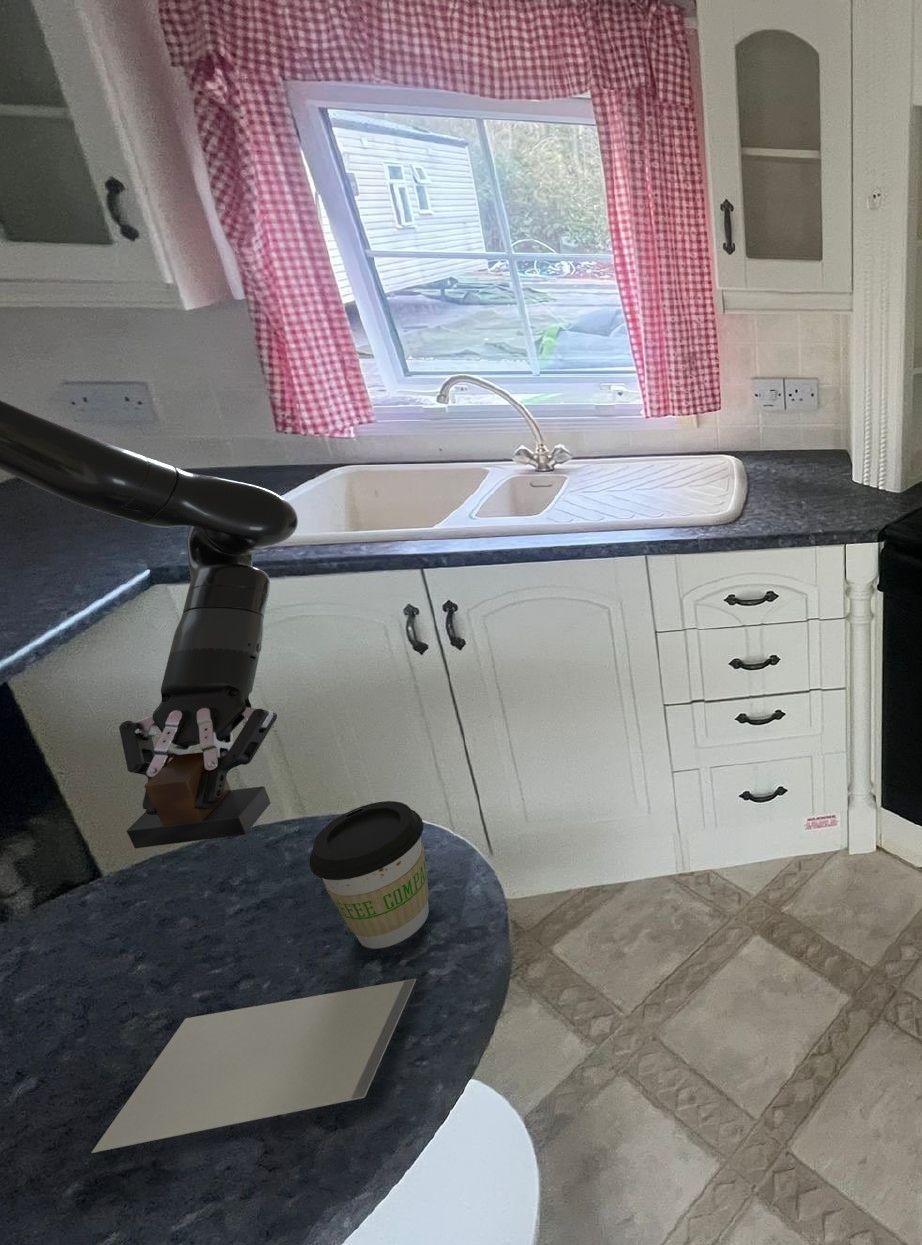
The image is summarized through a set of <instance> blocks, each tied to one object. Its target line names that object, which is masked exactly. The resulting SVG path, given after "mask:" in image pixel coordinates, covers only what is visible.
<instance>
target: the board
mask: <svg viewBox="0 0 922 1245" xmlns="http://www.w3.org/2000/svg"><path fill="white" fill-rule="evenodd" d="M416 981H417V978H411V979H405V980H399V981H394V982H388V983H387V982H386V983H382V984H377V985H370V986H363V987H359V988H353V989H352V988H351V989H348V990H342V991H336V992H330V993H323V994H319V995H318V994H317V995H312V996H307V997H306V996H305V997H302V998H295V999H290V1000H284V1001H278V1002H273V1003H266V1004H261V1005H254V1006H249V1007H243V1008H237V1009H233V1010H232V1009H231V1010H226V1011H220V1012H214V1013H208V1014H203V1015H198V1016H197V1015H196V1016H192V1017H186V1018H184V1020H183V1021H182V1023H181V1024H180V1025H179V1027H178V1028H177V1030H176V1031H175V1033H174V1034H173V1036H172V1037H171V1039H169V1041H168V1043H167V1044H166V1045H165V1047H164V1048H163V1050H162V1051H161V1053H160V1054H159V1056H158V1057H157V1058H156V1060H155V1061H154V1063H153V1064H152V1066H151V1067H150V1068H149V1070H147V1072H146V1074H145V1075H144V1077H143V1078H142V1079H141V1081H140V1082H139V1084H138V1085H137V1087H136V1088H135V1089H134V1091H133V1093H132V1094H131V1095H130V1097H129V1098H128V1100H127V1101H126V1103H125V1104H124V1105H123V1107H122V1108H121V1110H120V1111H119V1112H118V1114H117V1115H116V1116H115V1118H114V1120H113V1121H112V1123H111V1124H110V1125H109V1127H108V1128H107V1129H106V1131H105V1132H104V1133H103V1135H102V1136H101V1138H100V1139H99V1141H98V1142H97V1144H96V1145H95V1146H94V1148H93V1149H92V1150H91V1153H90V1154H94V1153H100V1152H104V1151H108V1150H114V1149H118V1148H124V1147H128V1146H129V1147H130V1146H134V1145H137V1144H138V1145H139V1144H143V1143H144V1144H145V1143H148V1142H153V1141H158V1140H163V1139H168V1138H172V1137H173V1138H174V1137H177V1136H183V1135H188V1134H193V1133H198V1132H202V1131H207V1130H212V1129H217V1128H222V1127H227V1126H232V1125H236V1124H241V1123H248V1122H252V1121H256V1120H262V1119H267V1118H271V1117H276V1116H280V1115H286V1114H291V1113H296V1112H301V1111H306V1110H311V1109H316V1108H321V1107H325V1106H330V1105H336V1104H342V1103H345V1102H350V1101H355V1100H361V1099H364V1098H366V1096H367V1094H368V1091H369V1089H370V1087H371V1084H372V1082H373V1080H374V1077H375V1075H376V1073H377V1070H378V1068H379V1067H380V1063H381V1062H382V1058H383V1056H384V1054H385V1052H386V1050H387V1047H388V1045H389V1043H390V1041H391V1038H392V1036H393V1034H394V1032H395V1030H396V1027H397V1025H398V1023H399V1020H400V1018H401V1016H402V1013H403V1011H404V1009H405V1007H406V1004H407V1002H408V1000H409V997H410V995H411V993H412V990H413V989H414V986H415V984H416Z"/></svg>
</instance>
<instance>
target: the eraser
mask: <svg viewBox="0 0 922 1245" xmlns="http://www.w3.org/2000/svg"><path fill="white" fill-rule="evenodd" d="M202 772H206V769H205V768H204V754H203V751H200V752H190V753H189V754H180V755H178V756H175V757H174V758H173V759H172V760H170V761H169V762H168V763H167V764H166V765H165V766H164V767H163V768H162V769H161V770H160V771H159V772H158V773H157V774H156V775H155V776H154V777H153V778H152V779H151V780H150V781H149V782H148V781H147V782H146V784H144V785H143V787H144V789H145V791H147V793H148V795H149V797H150V800H151V802H152V804H153V806H154V808H155V810H156V812H157V815H150V814H147V813H146V811H144V813H143V814H142V815H140V816H139V818H137V820H136V821H135V822H133V823H132V824H131V825H130V826H129V828H127V830H126V834H127V835H128V837H129V840H130V841H131V843H132V846H133V848H134V849H142V848H150V847H158V846H166V845H174V844H183V843H190V842H198V841H205V840H213V839H214V840H215V839H219V838H220V839H221V838H229V837H237V836H244V835H247V833H248V832H249V831H250V830H251V829H252V827H253V826H254V825H255V823H256V822H257V820H258V819H259V818H261V816H262V815H263V814H264V812H265V811H266V810H267V808H269V806H270V805H271V803H272V802H271V800H270V797H269V795H268V792H267V789H266V787H265V785H262V786H253V787H245V788H237V789H231V786H230V784H229V781H228V779H227V778H226V781H225V786H224V791H223V796H222V798H221V800H220V801H219V802H217V803H216V805H215V807H214V808H213V809H195V808H194V803H195V800H196V795H197V790H198V786H199V781H200V777H201V773H202Z"/></svg>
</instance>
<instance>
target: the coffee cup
mask: <svg viewBox="0 0 922 1245" xmlns="http://www.w3.org/2000/svg"><path fill="white" fill-rule="evenodd" d="M423 832H424V821H423V819H422V817H421V815H420V814H418V812H416V811H415V810H413V809H412V808H411V807H410V806H408V805H407V804H405V803H404V802H400V801H394V800H386V801H385V800H384V801H377V802H372V803H368V804H365V805H361V806H359V807H356V808H353V809H351V810H348V811H346V812H345V813H343V814H341V815H339V816H338V817H337V818H335V819H333V820H332V821H331V822H329V823H328V824H327V825H326V826H324V827H323V828H322V830H320V831H319V833H318V834H317V835H316V837H315V839H314V840H313V845H312V848H311V852H310V854H309V867H310V868H309V869H310V871H311V873H312V874H313V875H314V876H316V877H318V878H319V879H322V881H323V884H324V889H325V890H326V892H327V893H328V895H329V897H330V898H331V900H332V902H333V904H334V905H335V906H336V908H337V910H338V912H339V913H340V915H341V917H342V918H343V920H344V922H345V923H346V925H347V927H348V928H349V930H350V931H351V932H352V934H354V936H356V938H357V940H358V942H359V943H360V944H361V946H363V947H365V948H367V949H375V950H376V949H384V948H389V947H391V946H394V945H397V944H399V943H401V942H403V941H404V940H406V939H408V938H410V937H412V935H414V934H415V933H416V932H418V930H419V929H420V928H422V926H423V925H424V924H425V922H426V920H427V919H428V917H429V912H430V910H429V908H430V907H429V885H428V883H429V882H428V877H427V876H428V874H427V864H426V856H425V847H424V844H423V840H422V838H421V837H422V835H423Z"/></svg>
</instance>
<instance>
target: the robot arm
mask: <svg viewBox="0 0 922 1245" xmlns="http://www.w3.org/2000/svg"><path fill="white" fill-rule="evenodd" d="M0 470H1V471H2V472H5V473H8V474H9V475H12V476H14V477H16V478H17V479H20V480H22V481H24V482H26V483H28V484H30V485H32V486H35V487H37V488H39V489H41V490H43V491H44V492H48V493H50V494H52V495H53V496H57V497H59V498H62V499H63V500H67V501H69V502H72V503H74V504H77V505H80V506H82V507H85V508H88V509H91V510H94V511H97V512H100V513H104V514H107V515H110V516H114V517H118V518H120V519H124V520H127V521H130V522H135V523H137V524H142V525H146V526H148V527H154V528H160V529H161V528H164V529H165V528H167V529H168V528H177V527H188V530H187V535H186V547H187V548H186V549H187V560H188V561H187V562H188V570H189V574H190V583H189V587H188V589H187V594H186V598H185V602H184V606H183V610H182V614H181V618H180V620H179V622H178V624H177V626H176V629H175V631H174V635H173V638H172V642H171V646H170V651H169V654H168V657H167V662H166V666H165V670H164V674H163V679H162V683H161V686H160V694H161V701H160V703H159V704H158V706H157V707H156V708H155V710H154V711H153V712H152V715H150V716H147V717H144V718H142V719H139V720H136V721H132V720H125V721H123V722H122V723H121V724H120V725H119V728H118V729H119V734H120V739H121V744H122V748H123V753H124V758H125V764H126V768H127V771H128V772H129V773H133V774H138V775H142V776H145V777H147V783H148V782H149V781H150V780H151V779H152V778H153V777H154V776H155V775H156V774H157V773H158V772H159V771H160V770H161V769H162V768H163V767H164V766H165V765H166V764H167V763H168V762H169V761H170V760H172V759H173V758H174V757H175V756H178V755H180V754H190V753H191V752H192V749H193V747H194V746H197V745H199V748H200V750H201V752H203V754H204V768H205V769H206V772H202V773H201V777H200V781H199V786H198V790H197V795H196V800H195V803H194V808H195V809H213V808H214V807H215V805H216V803H217V802H219V801H220V800H221V798H222V796H223V791H224V786H225V781H226V779H227V775H228V773H229V772H230V771H231V770H232V769H235V768H236V767H238V766H241V765H243V766H246V765H248V764H250V763H251V762H252V760H253V759H254V757H255V755H256V754H257V752H258V750H259V749H260V747H261V745H262V743H263V742H264V740H265V739H266V737H267V736H268V734H269V732H270V731H271V729H272V727H273V725H274V723H275V722H276V720H277V719H278V714H277V713H276V712H275V711H272V710H268V709H264V708H253V707H252V704H251V701H250V694H252V692H253V690H254V684H255V679H256V673H257V669H258V665H259V664H258V663H259V658H260V654H261V651H262V649H263V648H262V646H263V639H264V622H265V621H264V620H265V614H266V609H267V604H268V599H269V594H270V591H271V590H270V589H271V580H270V576H269V575H268V574H267V573H266V572H265V571H264V570H262V569H261V568H258V567H255V566H253V557H254V554H255V552H256V551H260V550H264V549H266V548H270V547H272V546H273V547H274V546H276V545H279V544H281V543H283V542H284V541H286V540H289V538H291V536H293V534H294V533H295V532H296V530H297V528H298V524H299V520H298V514H297V511H296V510H295V508H294V507H293V505H292V504H291V503H290V502H289V501H288V500H286V499H285V498H284V497H282V496H281V495H279V494H278V493H276V492H274V491H272V490H269V489H267V488H264V487H261V486H257V485H255V484H249V483H245V482H241V481H236V480H232V479H227V478H221V477H217V476H211V475H204V474H198V473H194V472H189V471H186V470H184V469H181V468H179V467H176V466H175V465H171V464H168V463H165V462H162V461H160V460H156V459H154V458H151V457H148V456H145V455H143V454H140V453H137V452H134V451H131V450H128V449H125V448H123V447H120V446H117V445H114V444H112V443H109V442H106V441H103V440H100V439H98V438H95V437H92V436H90V435H87V434H84V433H83V432H82V433H81V432H80V431H77V430H74V429H71V428H69V427H66V426H63V425H61V424H58V423H56V422H53V421H51V420H49V419H46V418H43V417H41V416H39V415H36V414H34V413H31V412H28V411H27V410H24V409H22V408H20V407H17V406H15V405H12V404H10V403H8V402H6V401H4V400H1V399H0ZM241 723H242V726H243V727H242V729H241V730H240V732H239V733H238V735H237V737H236V738H235V740H234V730H235V729H237V727H238V726H239V725H240V724H241ZM157 728H158V730H159V732H161V735H160V736H159V738H158V740H157V742H156V744H155V745H154V741H153V740H154V739H153V737H156V735H157V732H156V730H157ZM174 745H175V746H174ZM142 809H143V810H145V812H146V813H147V814H150V815H157V812H156V810H155V808H154V806H153V804H152V802H151V800H150V797H149V795H148V793H147V791H146V790H145V792H144V796H143V800H142Z"/></svg>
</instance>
